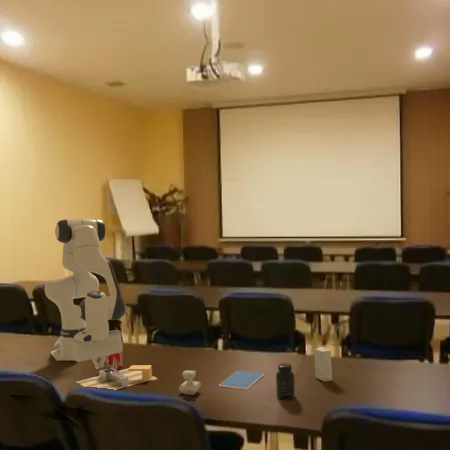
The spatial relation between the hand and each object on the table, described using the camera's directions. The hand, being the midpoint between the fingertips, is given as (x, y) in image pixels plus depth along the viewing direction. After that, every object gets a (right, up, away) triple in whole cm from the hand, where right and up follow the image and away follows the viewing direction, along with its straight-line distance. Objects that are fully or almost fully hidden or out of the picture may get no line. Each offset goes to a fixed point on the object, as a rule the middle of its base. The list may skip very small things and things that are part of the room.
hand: (99, 367), depth 215 cm
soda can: (+1, -7, +25) cm, 26 cm away
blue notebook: (+57, -7, +5) cm, 57 cm away
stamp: (+36, -8, -8) cm, 38 cm away
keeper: (+15, -7, +9) cm, 19 cm away
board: (+5, -8, +8) cm, 12 cm away
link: (+5, -7, +6) cm, 11 cm away
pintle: (+2, -8, +10) cm, 13 cm away
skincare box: (+89, -6, +4) cm, 89 cm away
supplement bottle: (+72, -7, -14) cm, 74 cm away
